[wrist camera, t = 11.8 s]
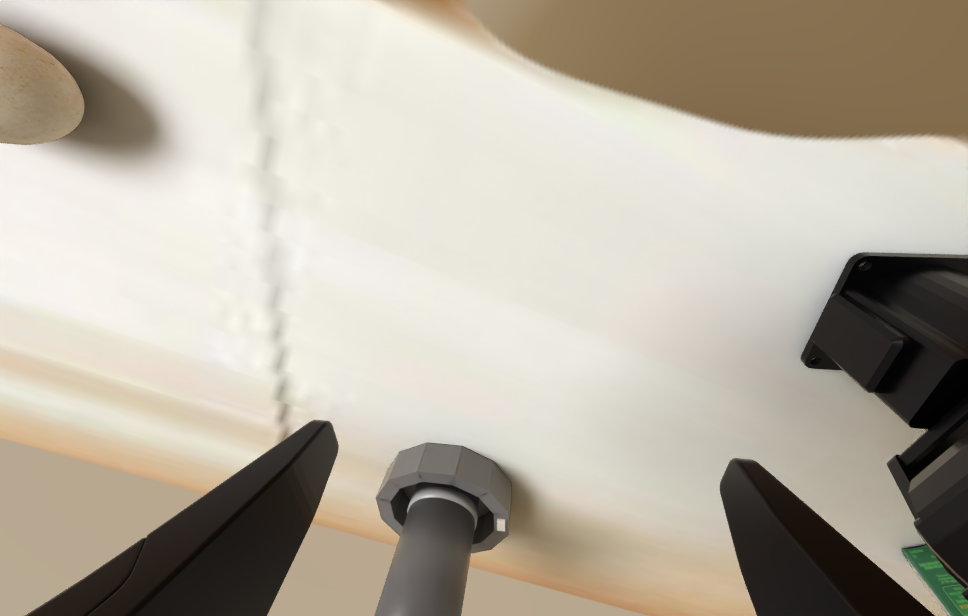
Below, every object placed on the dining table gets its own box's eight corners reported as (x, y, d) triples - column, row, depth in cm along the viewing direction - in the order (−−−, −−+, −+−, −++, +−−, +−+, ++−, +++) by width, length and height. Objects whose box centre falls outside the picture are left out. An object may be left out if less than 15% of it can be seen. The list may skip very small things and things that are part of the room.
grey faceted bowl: (511, 451, 28) (508, 483, 25) (510, 530, 33) (507, 563, 30) (380, 438, 29) (365, 468, 27) (398, 516, 34) (387, 547, 32)
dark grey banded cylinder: (457, 461, 29) (403, 696, 18) (493, 502, 31) (464, 737, 20) (403, 477, 31) (322, 698, 20) (440, 515, 33) (386, 735, 21)
